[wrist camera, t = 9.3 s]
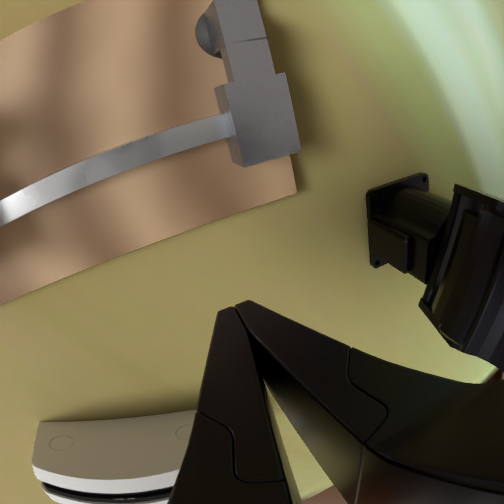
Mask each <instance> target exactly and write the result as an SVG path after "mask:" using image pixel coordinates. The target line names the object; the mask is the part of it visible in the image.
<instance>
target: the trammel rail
mask: <svg viewBox="0 0 504 504" xmlns="http://www.w3.org/2000/svg"><path fill="white" fill-rule="evenodd" d="M203 16H204V20H205V24H206V28H207V32H208V36H209V40H210V44H211V48H212V52H213V55H214V54H219V53H221V56H222V60H223V64H224V68H225V72H226V76H227V80H228V83H226V84H223V85H220V86H217V87H215V88H214V92H215V96H216V100H217V104H218V108H219V112H220V114H216V115H212V116H209V117H205V118H201V119H198V120H194V121H191V122H187V123H184V124H181V125H178V126H174V127H171V128H168V129H165V130H162V131H159V132H156V133H153V134H150V135H147V136H144V137H141V138H138V139H135V140H132V141H130V142H127V143H124V144H122V145H119V146H116V147H114V148H111V149H108V150H106V151H103V152H101V153H98V154H96V155H93V156H91V157H88V158H86V159H84V160H81V161H79V162H77V163H74V164H72V165H70V166H67V167H65V168H63V169H61V170H58V171H56V172H54V173H52V174H50V175H48V176H46V177H43V178H41V179H39V180H37V181H35V182H33V183H31V184H29V185H27V186H25V187H23V188H21V189H19V190H17V191H15V192H14V193H12V194H10V195H8V196H6V197H4V198H2V199H1V200H0V227H1V226H3V225H5V224H6V223H8V222H10V221H12V220H14V219H16V218H18V217H20V216H22V215H24V214H26V213H28V212H30V211H32V210H34V209H37V208H39V207H41V206H43V205H45V204H47V203H49V202H51V201H54V200H56V199H58V198H60V197H63V196H65V195H67V194H69V193H72V192H74V191H76V190H79V189H81V188H83V187H86V186H88V185H90V184H93V183H95V182H98V181H100V180H103V179H105V178H108V177H110V176H113V175H116V174H118V173H121V172H123V171H126V170H129V169H131V168H134V167H137V166H140V165H142V164H145V163H148V162H151V161H154V160H157V159H159V158H162V157H165V156H168V155H171V154H174V153H177V152H181V151H184V150H187V149H190V148H193V147H196V146H200V145H203V144H206V143H210V142H213V141H216V140H220V139H223V138H226V139H227V143H228V147H229V151H230V155H231V159H232V162H233V163H235V164H237V165H239V166H242V167H244V168H245V167H248V166H252V165H255V164H259V163H262V162H266V161H269V160H273V159H276V158H280V157H283V156H287V155H291V154H294V153H298V152H302V151H301V146H300V141H299V136H298V130H297V125H296V120H295V116H294V111H293V106H292V101H291V96H290V92H289V87H288V83H287V78H286V74H285V72H284V73H278V74H275V70H274V65H273V61H272V57H271V53H270V49H269V45H268V41H267V37H266V33H265V29H264V25H263V21H262V17H261V13H260V10H259V6H258V2H257V0H213V1H212V3H211V4H210V5H209V7H208V8H207V10H206V11H205V12H204V14H203Z"/></svg>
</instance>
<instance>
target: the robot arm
mask: <svg viewBox="0 0 504 504" xmlns="http://www.w3.org/2000/svg"><path fill="white" fill-rule="evenodd" d="M422 179H423V180H422ZM453 192H454V195H453V200H452V201H451V200H448V199H446V198H443V197H440V196H438V195H435V194H432V193H430V192H428V175H427V174H425V173H418V174H415V175H412V176H409V177H405V178H402V179H399V180H396V181H393V182H390V183H387V184H384V185H381V186H378V187H375V188H372V189H370V190H368V192H367V194H366V205H367V218H368V238H369V252H370V265H371V266H373V267H374V268H378V267H380V266H383V265H385V264H387V263H389V264H390V265H392V266H393V267H395V268H396V269H398V270H399V271H401V272H402V273H404V274H406V273H409V274H411V275H412V276H414V277H415V278H417V279H418V280H420V281H421V282H423V283H424V284H426V285H427V286H426V289H425V292H424V295H423V297H422V298H421V299H420V302H419V304H418V306H419V307H420V309H421V310H422V311H423V312H424V314H425V315H426V316H427V317H428V319H429V320H430V321H431V323H432V324H433V325H434V327H435V328H436V329H437V330H438V332H439V333H440V334H441V336H442V337H443V338H444V339H445V341H446V342H447V343H448V344H449V346H450V347H452V348H455V349H457V350H459V351H461V352H463V353H466V354H469V355H473V356H477V357H479V358H481V359H483V360H485V361H488V362H489V363H491V364H493V365H494V366H496V367H497V368H499V369H500V370H502V371H503V372H504V200H502V199H499V198H497V197H494V196H492V195H489V194H486V193H483V192H480V191H477V190H474V189H471V188H468V187H465V186H462V185H458V184H455V185H454V190H453ZM373 194H374V197H373V198H372V195H373ZM375 262H376V263H375ZM263 379H264V380H263ZM264 381H265V383H266V385H267V387H268V389H269V390H270V392H271V393H272V395H273V396H274V398H275V400H276V401H277V403H278V404H279V406H280V407H281V409H282V410H283V412H284V413H285V415H286V416H287V418H288V419H289V421H290V422H291V424H292V425H293V427H294V428H295V430H296V431H297V433H298V434H299V436H300V437H301V439H302V440H303V441H304V443H305V444H306V446H307V447H308V449H309V450H310V452H311V453H312V455H313V456H314V457H315V459H316V460H317V462H318V463H319V465H320V466H321V467H322V469H323V470H324V472H325V473H326V474H327V476H328V477H329V479H330V480H331V481H332V483H333V484H334V485H335V487H336V488H337V490H338V491H339V492H340V493H341V495H342V496H343V498H344V499H345V500H346V502H347V503H348V504H504V380H500V381H496V382H492V383H484V384H472V383H464V382H459V381H455V380H451V379H447V378H443V377H439V376H436V375H432V374H428V373H424V372H421V371H417V370H414V369H410V368H407V367H403V366H400V365H397V364H394V363H391V362H388V361H385V360H382V359H380V358H377V357H375V356H372V355H370V354H367V353H365V352H362V351H360V350H358V349H355V348H350V346H348V345H346V344H344V343H341V342H339V341H337V340H335V339H333V338H330V337H328V336H326V335H324V334H321V333H319V332H317V331H315V330H313V329H310V328H308V327H306V326H304V325H302V324H300V323H297V322H295V321H293V320H291V319H289V318H287V317H285V316H282V315H280V314H278V313H276V312H274V311H272V310H270V309H268V308H266V307H263V306H261V305H259V304H257V303H255V302H253V301H251V300H247V301H244V302H241V303H239V304H236V305H235V307H228V308H225V309H223V310H220V311H218V313H217V317H216V321H215V325H214V330H213V334H212V339H211V343H210V348H209V352H208V357H207V361H206V366H205V370H204V375H203V379H202V384H201V389H200V393H199V398H198V403H197V407H196V411H197V412H196V413H195V416H194V421H193V426H192V430H191V434H190V438H189V442H188V446H187V449H186V452H185V455H184V458H183V461H182V464H181V467H180V470H179V473H178V475H177V478H176V481H175V483H174V486H173V489H172V492H171V494H170V497H169V500H168V502H167V504H302V501H301V498H300V495H299V492H298V489H297V485H296V482H295V479H294V476H293V473H292V470H291V467H290V463H289V460H288V457H287V454H286V451H285V447H284V444H283V441H282V438H281V435H280V431H279V428H278V425H277V421H276V418H275V415H274V412H273V408H272V405H271V402H270V398H269V395H268V392H267V389H266V386H265V383H264Z"/></svg>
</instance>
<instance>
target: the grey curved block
mask: <svg viewBox="0 0 504 504" xmlns="http://www.w3.org/2000/svg"><path fill="white" fill-rule="evenodd" d="M196 412H197V411H196V409H194V410H188V411H182V412H175V413H168V414H160V415H152V416H143V417H133V418H123V419H110V420H95V421H70V422H39V425H38V430H37V435H36V440H35V445H34V451H33V456H32V465H33V469H34V473H35V476H36V477H37V478H38V479H39V480H41V481H42V488H43V490H44V491H45V492H46V493H47V494H48V495H49V497H50V498H51V499H52V500H54V501H56V502H58V503H61V504H167V502H168V500H169V497H170V494H171V492H172V489H173V486H174V483H175V481H176V478H177V475H178V473H179V470H180V467H181V464H182V461H183V458H184V455H185V452H186V449H187V446H188V442H189V438H190V434H191V430H192V426H193V421H194V416H195V413H196Z"/></svg>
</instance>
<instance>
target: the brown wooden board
mask: <svg viewBox="0 0 504 504" xmlns="http://www.w3.org/2000/svg"><path fill="white" fill-rule="evenodd" d="M212 1H213V0H88V1H85V2H82V3H79V4H77V5H74V6H72V7H69V8H67V9H64V10H62V11H59V12H57V13H55V14H52V15H50V16H48V17H46V18H43V19H41V20H39V21H37V22H35V23H33V24H31V25H29V26H27V27H25V28H23V29H21V30H19V31H17V32H15V33H13V34H11V35H10V36H8V37H6V38H4V39H3V40H1V41H0V200H1V199H2V198H4V197H6V196H8V195H10V194H12V193H14V192H15V191H17V190H19V189H21V188H23V187H25V186H27V185H29V184H31V183H33V182H35V181H37V180H39V179H41V178H43V177H46V176H48V175H50V174H52V173H54V172H56V171H58V170H61V169H63V168H65V167H67V166H70V165H72V164H74V163H77V162H79V161H81V160H84V159H86V158H88V157H91V156H93V155H96V154H98V153H101V152H103V151H106V150H108V149H111V148H114V147H116V146H119V145H122V144H124V143H127V142H130V141H132V140H135V139H138V138H141V137H144V136H147V135H150V134H153V133H156V132H159V131H162V130H165V129H168V128H171V127H174V126H178V125H181V124H184V123H187V122H191V121H194V120H198V119H201V118H205V117H209V116H212V115H216V114H220V112H219V108H218V104H217V100H216V96H215V92H214V88H215V87H217V86H220V85H223V84H226V83H228V80H227V76H226V72H225V68H224V64H223V60H222V56H221V53H219V54H214V55H213V52H212V48H211V44H210V40H209V36H208V32H207V28H206V24H205V20H204V16H203V14H204V12H205V11H206V10H207V8H208V7H209V5H210V4H211V3H212ZM296 193H297V190H296V185H295V179H294V174H293V169H292V163H291V158H290V155H287V156H283V157H280V158H276V159H273V160H269V161H266V162H262V163H259V164H255V165H252V166H248V167H245V168H244V167H242V166H239V165H237V164H235V163H233V162H232V159H231V155H230V151H229V147H228V143H227V139H226V138H223V139H220V140H216V141H213V142H210V143H206V144H203V145H200V146H196V147H193V148H190V149H187V150H184V151H181V152H177V153H174V154H171V155H168V156H165V157H162V158H159V159H157V160H154V161H151V162H148V163H145V164H142V165H140V166H137V167H134V168H131V169H129V170H126V171H123V172H121V173H118V174H116V175H113V176H110V177H108V178H105V179H103V180H100V181H98V182H95V183H93V184H90V185H88V186H86V187H83V188H81V189H79V190H76V191H74V192H72V193H69V194H67V195H65V196H63V197H60V198H58V199H56V200H54V201H51V202H49V203H47V204H45V205H43V206H41V207H39V208H37V209H34V210H32V211H30V212H28V213H26V214H24V215H22V216H20V217H18V218H16V219H14V220H12V221H10V222H8V223H6V224H5V225H3V226H1V227H0V305H1V304H3V303H5V302H8V301H10V300H12V299H15V298H17V297H19V296H22V295H24V294H26V293H29V292H31V291H33V290H36V289H38V288H40V287H43V286H45V285H48V284H50V283H52V282H55V281H57V280H60V279H62V278H65V277H67V276H70V275H72V274H74V273H77V272H79V271H82V270H84V269H87V268H89V267H92V266H95V265H97V264H100V263H102V262H105V261H107V260H110V259H112V258H115V257H118V256H120V255H123V254H125V253H128V252H131V251H133V250H136V249H139V248H141V247H144V246H147V245H149V244H152V243H155V242H157V241H160V240H163V239H165V238H168V237H171V236H174V235H176V234H179V233H182V232H185V231H187V230H190V229H193V228H196V227H199V226H201V225H204V224H207V223H210V222H213V221H216V220H218V219H221V218H224V217H227V216H230V215H233V214H236V213H239V212H242V211H245V210H248V209H250V208H253V207H256V206H259V205H262V204H265V203H268V202H271V201H274V200H277V199H281V198H284V197H287V196H290V195H293V194H296Z"/></svg>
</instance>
